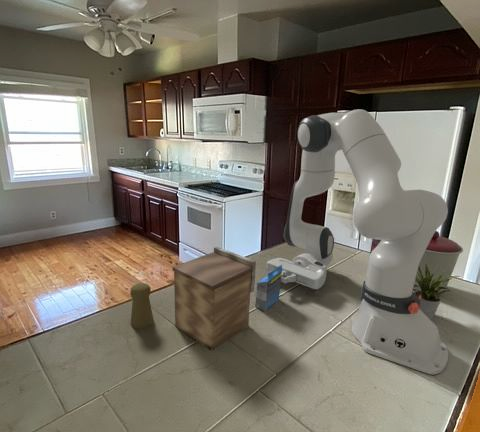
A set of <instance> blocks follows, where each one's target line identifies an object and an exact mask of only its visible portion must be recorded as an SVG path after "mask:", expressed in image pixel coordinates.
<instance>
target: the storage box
mask: <svg viewBox="0 0 480 432" xmlns="http://www.w3.org/2000/svg"><path fill="white" fill-rule="evenodd" d="M173 278H174V279H173V283H174V326H175V327H176V328H177V329H179V330H180V331H182V332H184V333H185V334H186V335H188V336H189V337H190V338H192V339H194V340H195V341H196V342H198V343H200V344H201V345H203V346H204V347H206V348H207V349H208V350H210V351H214V349H216V348H218V347H219V346H220V345H222V344H224V343H225V342H226V341H228V340H230V339H231V338H232V337H233V336H235V335H236V334H238V333H240V332H241V331H243V330H244V329H245V328H247V327H249V326H250V325H249V324H250V323H249V322H250V302H251V292H250V286H251V272H249V273H247V274H245V275H243V276H241V277H238V278H236V279H234V280H232V281H230V282H228V283H226V284H224V285H222V286H220V287H218V288H216V289H214V290H210V289H208V288H206V287H204V286H202V285H200V284H198V283H196V282H194V281H192V280H190V279H188V278H186V277H184V276H182V275H180V274H178V273H176V272H174V271H173Z"/></svg>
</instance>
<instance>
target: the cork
mask: <svg viewBox="0 0 480 432" xmlns="http://www.w3.org/2000/svg"><path fill="white" fill-rule="evenodd" d="M129 292H130V293H129V294H130V297H131V298H132V301H131V302H132V305H131V314H130V326H131V327H132V328H134V329H138V330H139V329H145V328H148V327H150V326H151V325H152V324H154V314H153V311H152V306H151V301H150V295H151V292H152V291H151V286H150V284H148V283H145V282H140V283H138V282H137V283H135V284H133V285H132V287H130V291H129Z"/></svg>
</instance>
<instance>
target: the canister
mask: <svg viewBox="0 0 480 432" xmlns="http://www.w3.org/2000/svg"><path fill="white" fill-rule="evenodd" d="M463 252H464V249H463V247H462V246H461V245H459V244H458V243H457V242H456V241H454V240H452V239H450V238H448V237H443V236H441V235H440V232H439V231H438V230H436V231H435V233H434V235H433V236H432V238H431V240H430V242H429V244H428V246H427V248H426V250H425V252H424V254H423V256H422V258H421V261H420V263H419V267H420V269H421V272H422V275H423V277H425V265H424V263H426V265H427V267H428V269H429V271H430V276H431V275H432V274H434V273H435V274H434V275H433V277H432V280H431V283H432V281H433V279H438V277H439V276H440V274H441V273H442V272H443V271H444V270H445V272H444V274H443V276H442V277H441V278H440V280H439V281H441V280H445V279H447V278H449V277H452V274H453V272H454V270H455V267H456V264H457V261H458V259H459V256H460V254H462V253H463ZM438 265H439V266H438ZM437 266H438V267H437ZM436 267H437V268H436ZM435 268H436V269H435ZM433 271H434V272H433ZM417 272H418V273H419V275H420V276H421V274H420V272H419V269H418V270H417ZM436 272H437V273H436ZM418 273H417V277H419V275H418ZM419 278H420V277H419ZM421 278H422V277H421ZM421 278H420V280H421ZM421 281H422V280H421ZM449 281H450V280H448V281H446V282H444V283H443V284H441V285H440V286H439V287H445V288H447V286H448V284H449ZM422 283H423V282H422ZM431 283H430V286H431ZM415 285H418V286H417V287H414V288H413V291H414V290H415V291H416V290H421V289H420V287H419V284H418V282H417V281H415ZM429 289H430V288H429ZM442 291H445V289H440V291H439V292H438V293H440V292H442ZM440 294H441V293H440Z"/></svg>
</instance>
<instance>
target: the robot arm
mask: <svg viewBox="0 0 480 432" xmlns="http://www.w3.org/2000/svg"><path fill="white" fill-rule="evenodd" d="M296 134H297V141H298V144H299V146H300V147H301V149H302V153H301V163H300V166H301V167H300V176H299V179H298V180H296V181H295V182H294V183H293V186H292V187H291V193H290V198H289V203H288V204H289V205H288V211H287V216H286V217H287V218H286V223H285V226H284V229H283V239H284V241H285V243H286V245H288V246H289V247H294V248H300V249H304V250H305V252H304V253H303V252H302V253H301V254H299V255H297V256H294V257H293V258H292V260H290V259H286V258H284V257H276V258H273V259H272V258H271V259H269V260H268V261H267V262H266V266H265V267H266V271H267V273H269V272H271V271H272V270H274V269H276V268H277V267H279V266H280V265H281V264H282V275H281V283H284V284H287V283H298V284H299V285H302V286H304V287H308V288H309V289H312V290H319V289H321V288H322V287H323V285H324V284H325V282H326V279H327V268H328V267H329V265H330V264H331V262H332V260H333V250H334V246H335V237H334V234H333V233H332V231H331V229H330V228H328V227H327V226H326V227H325V226H322V225H319V224H312V223H309V222H305V221H303V220H302V215H303V214H302V213H303V208H304V202H305V200H306V199H307V198H310V197H314V196H317V195H321V194H324V193H325V192H326V191H328V190H329V189H330V188H331V187H332V186H333V184H334V181H335V177H336V176H335V174H336V154H337V152H338V151H342V152H343V155H344V157H345V159H346V161H347V163H348V165H349V167H350V169H351V171H352V174H353V177H354V178H355V180H356V184H357V188H358V201H357V203H356V204H355V207H354V209H353V224H354V226H355V228H356V230H357V232H358V233H359V234H360V235H361V236H363V237H365V238H366V239H370V240H372V239H377V240H381V241H380V243H379V244H378V246H377V247H376V248H375V249H374V250H373V251H372V252H371V254H370V253H369V257H368V262H367V267H366V268H367V269H366V275H365V280H364V281H363V283H362V285H361V291H360V305H359V309H358V311H357V314H356V317H355V319H354V320H353V322H352V325H351V333H352V334H353V336H354V337H355V338H356V340H358V342H359V343H360V344H361V347H362V350H363V351H364V352H366V353H368V354H370V355H373V356H376V357H378V358H382V359H385V360H388V361H391V362H394V363H396V364H399V365H401V366H405V367H408V368H410V369H414V370H417V371H419V372H422V373H425V374H428V375H431V376H433V375H437V374H439V373H441V372H443V371H444V370H445V368H446V367H447V364H448V361H449V350H448V348H447V346H446V344H445V343H443V342H442V341H441V337H440V331H439V328H438V326H437V325H436V324H435V323H434V322H433V321H432V319H429V318H428V317H427V316H426V315H425V314H424V313H423V312H422V311H421V310H420V309H419V307H420V302H421V295H420V296H419V297H417V295H416V294H415V293H414V289H413V288H414V284H415V279H416V275H417V270H418V266H419V263H420V261H421V258H422V256H423V254H424V252H425V250H426V248H427V246H428V244H429V242H430V240H431V238H432V236H433V235H434V233H435V231H438V229H439V228H440V227H441V226H442V225H443V224H444V222H445V221H446V220H447V218H448V213H449V211H448V210H449V208H448V205H447V202H446V200H445V199H444V198H443V197H442V196H441V195H439V194H438V193H435V192H432V191H429V190H423V189H407V190H405V189H403V188H402V186H401V182H400V179H399V175H398V173H399V171H400V169H401V168H402V161H401V158H400V157H399V155H398V153H397V152H396V150H395V148H394V146H393V145H392V143H391V141H390V139H389V138H388V136H387V134H386V132H385V131H384V129H383V128H382V127H381V125H380V124H379V123H378V121H377V120H376V118H374V117H373V115H372V114H370V112H369V111H367V110H365V109H359V108H358V109H353V110H350V111H348V112H328V113H327V112H326V113H322V114H317V115H316V114H315V115H314V114H313V115H309V116H307V117H305V118H303V119H302V120H301V121H300V122H299V124H298V127H297V132H296ZM275 272H276V271H275ZM277 272H278V271H277Z"/></svg>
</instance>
